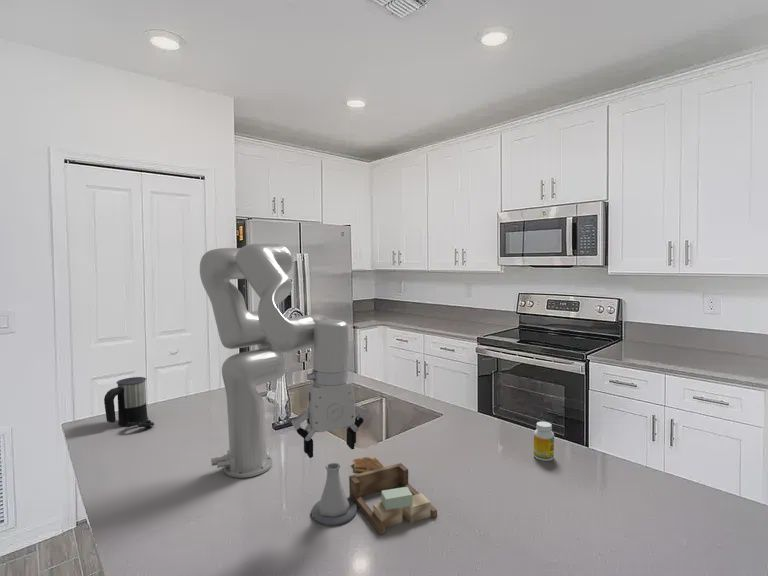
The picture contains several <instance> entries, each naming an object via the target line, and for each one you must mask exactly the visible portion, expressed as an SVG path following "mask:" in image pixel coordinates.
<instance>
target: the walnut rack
mask: <svg viewBox="0 0 768 576" xmlns="http://www.w3.org/2000/svg"><path fill="white" fill-rule="evenodd" d="M348 477H349V478H348V484H349V486H348V489H349V491H348V492H349V497H350V499H351V500H352V501H354V502H355V504H356V506H357V509H358V510H360V511H361V514H363V516H364V517H365V518H366V520H368V522H369V523H370V524H371V526H372V527H373V528H374V530H375V531H376V533H377V534H378V535H379V536H381V535H384V534H386V528H385V526H384V525H383V523H382V522H381V521H380V520H379V519H378V517H377V516H376V515H375V514H374V512H373V510H372V509H371V508H370V507H369V505H368V504H367V503H366V502H365V501H364V498H362V496H366V495H369V494H373V493H376V492H380V491H383V490H389V489H393V488H394V487H395V488H396V487H398V486H399V488H402V487H408V489H409V490H410V492H411V493H412V496H413V495H416V494H420V493H419V491H418V490H417V489H415V488H414V487H413V486H412V485H411V484H410V483H409V469H408V468H407V466H405V465H404V464H403V463H402V462H400V463H396V464H395V463H394V464H392V465H388V466H383V468H379V469H375V470H371V471H367V472H358V473H355V474H351V475H349V476H348ZM430 517H431V518H432V519H434V518H437V517H438V509H437V508H436V507H434V505H433V504H431V516H430Z"/></svg>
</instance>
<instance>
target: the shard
mask: <svg viewBox="0 0 768 576" xmlns="http://www.w3.org/2000/svg"><path fill="white" fill-rule="evenodd" d="M352 462H353V463H352V464H354V468H353V471H354V472H355V473H363V472H367V471H371V470H375V469H379V468H383V467H384V465H383V464H382V463H381V462H380V461H379V459H378V458H376V457H374V456H372V457H371V456H365V457H360V458H355V459H352Z"/></svg>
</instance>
